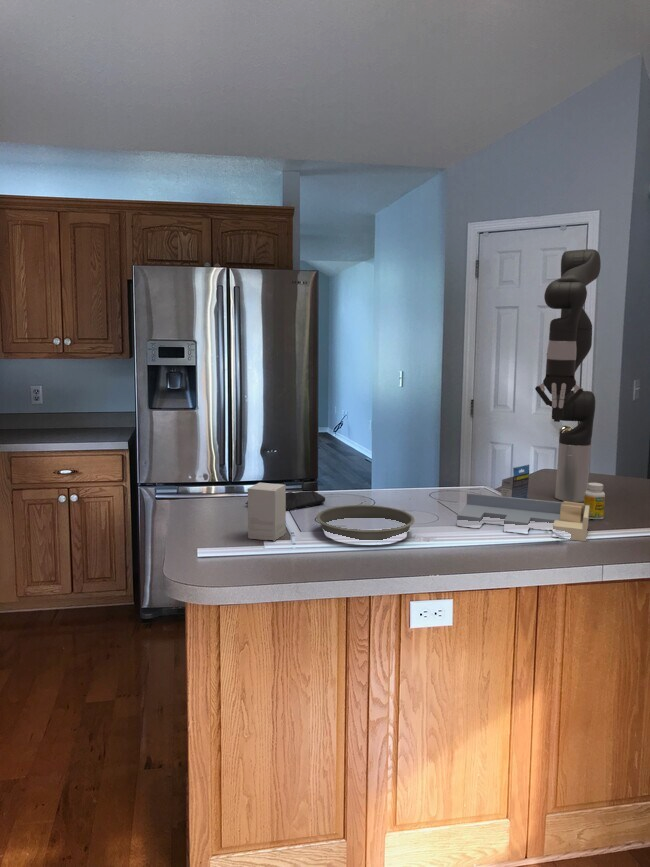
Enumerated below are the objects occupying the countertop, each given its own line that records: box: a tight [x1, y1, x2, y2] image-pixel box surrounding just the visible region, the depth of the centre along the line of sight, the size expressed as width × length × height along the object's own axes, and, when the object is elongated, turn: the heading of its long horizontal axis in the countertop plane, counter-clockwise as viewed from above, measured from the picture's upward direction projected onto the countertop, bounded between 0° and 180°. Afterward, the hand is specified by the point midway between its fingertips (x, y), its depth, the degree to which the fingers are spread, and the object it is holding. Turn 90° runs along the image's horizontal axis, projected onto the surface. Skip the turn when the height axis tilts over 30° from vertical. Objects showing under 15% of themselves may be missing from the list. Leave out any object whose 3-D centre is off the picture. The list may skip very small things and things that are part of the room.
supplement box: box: [247, 482, 287, 541], centre depth 180 cm, size 7×7×13 cm
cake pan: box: [315, 504, 415, 540], centre depth 186 cm, size 25×25×4 cm
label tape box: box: [500, 464, 530, 499], centre depth 215 cm, size 9×4×12 cm, turn 135°
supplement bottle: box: [583, 482, 606, 520], centre depth 204 cm, size 5×5×10 cm
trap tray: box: [456, 492, 590, 542], centre depth 194 cm, size 14×32×6 cm, turn 69°
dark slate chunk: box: [245, 490, 326, 510], centre depth 213 cm, size 15×22×5 cm
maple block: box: [560, 501, 584, 523], centre depth 191 cm, size 5×5×4 cm
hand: (556, 421), depth 202 cm, fingers closed
